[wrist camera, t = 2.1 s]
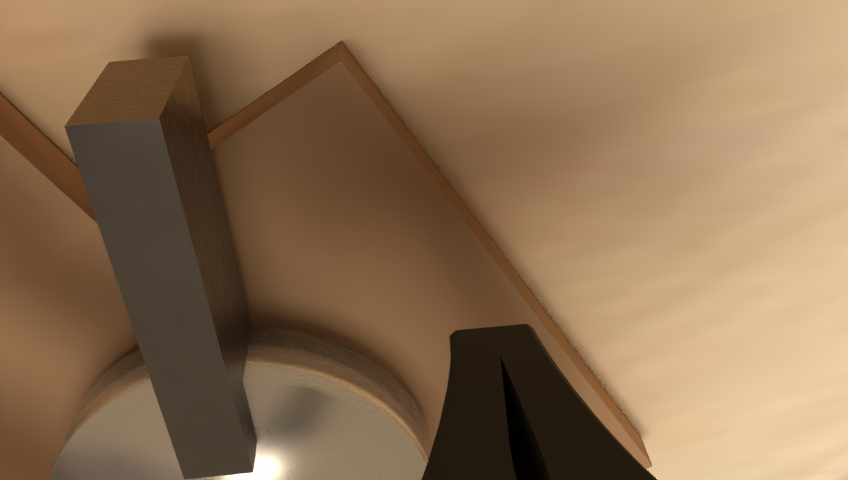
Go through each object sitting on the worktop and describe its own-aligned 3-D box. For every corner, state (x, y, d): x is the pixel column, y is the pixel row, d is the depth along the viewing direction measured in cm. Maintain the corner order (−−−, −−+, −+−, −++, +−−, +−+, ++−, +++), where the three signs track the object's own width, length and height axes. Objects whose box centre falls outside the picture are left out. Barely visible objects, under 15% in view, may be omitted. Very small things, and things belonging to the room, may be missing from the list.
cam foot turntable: (439, 553, 26) (452, 679, 22) (124, 586, 26) (90, 717, 22) (396, 38, 16) (407, 121, 13) (-103, 80, 16) (-222, 176, 13)
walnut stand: (212, 643, 30) (207, 680, 29) (-410, 251, 20) (-458, 285, 18) (641, 436, 26) (654, 471, 25) (141, -224, 15) (123, -218, 14)
